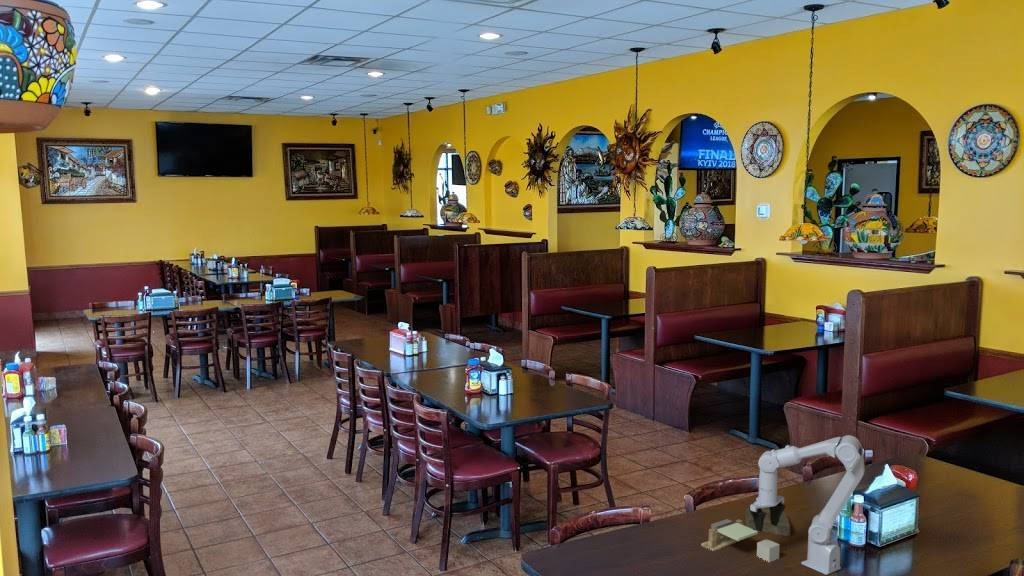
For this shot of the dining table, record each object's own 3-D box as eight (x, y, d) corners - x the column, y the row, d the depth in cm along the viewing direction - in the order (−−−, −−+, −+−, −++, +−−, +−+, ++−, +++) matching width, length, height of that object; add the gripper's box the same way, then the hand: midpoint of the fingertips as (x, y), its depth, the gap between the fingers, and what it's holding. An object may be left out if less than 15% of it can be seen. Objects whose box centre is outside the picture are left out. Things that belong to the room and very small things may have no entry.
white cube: (778, 558, 262) (779, 544, 261) (769, 562, 259) (769, 548, 259) (766, 553, 266) (767, 539, 265) (756, 557, 263) (757, 542, 263)
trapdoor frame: (742, 540, 276) (743, 521, 275) (712, 551, 267) (713, 531, 266) (731, 535, 280) (731, 516, 279) (701, 545, 271) (701, 526, 271)
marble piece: (790, 537, 279) (791, 526, 278) (746, 534, 282) (747, 522, 281) (785, 518, 295) (786, 508, 294) (744, 515, 298) (744, 504, 298)
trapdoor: (757, 534, 267) (758, 530, 266) (737, 541, 261) (738, 537, 261) (728, 522, 277) (729, 518, 277) (709, 528, 271) (709, 524, 271)
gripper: (772, 480, 269) (771, 518, 271) (743, 488, 262) (742, 528, 263) (789, 486, 264) (788, 525, 265) (760, 495, 256) (759, 535, 257)
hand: (766, 527), depth 264 cm, fingers open, 7 cm apart
